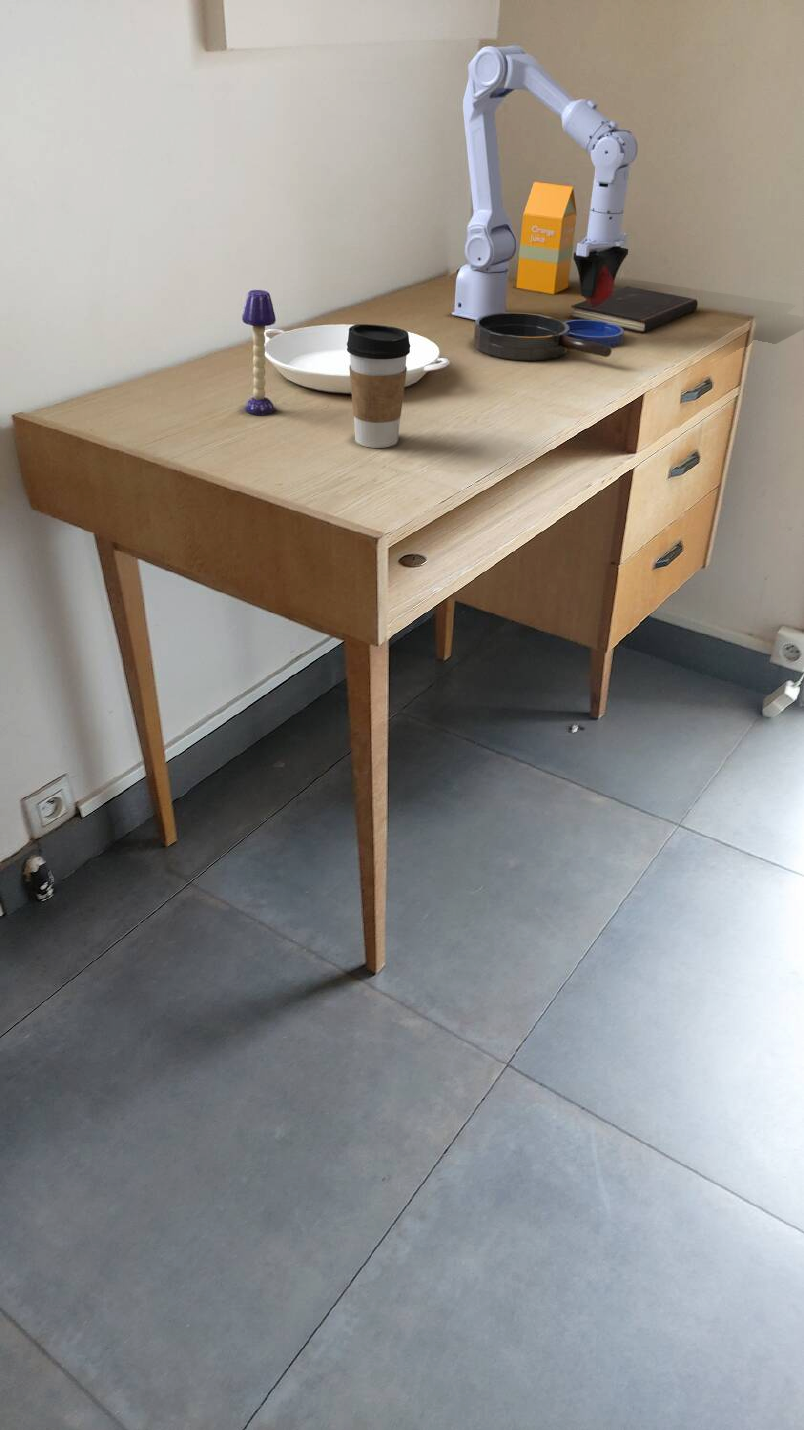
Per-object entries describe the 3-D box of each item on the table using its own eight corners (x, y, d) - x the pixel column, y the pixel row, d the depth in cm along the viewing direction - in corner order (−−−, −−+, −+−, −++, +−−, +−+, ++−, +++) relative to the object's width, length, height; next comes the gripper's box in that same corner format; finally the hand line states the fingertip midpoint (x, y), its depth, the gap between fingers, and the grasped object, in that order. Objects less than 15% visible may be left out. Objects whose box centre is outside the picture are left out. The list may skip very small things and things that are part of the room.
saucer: (545, 338, 191) (546, 328, 190) (578, 326, 199) (579, 316, 198) (602, 351, 185) (603, 341, 184) (633, 338, 193) (635, 328, 192)
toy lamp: (271, 403, 157) (267, 286, 147) (283, 413, 153) (279, 294, 144) (241, 407, 155) (234, 289, 145) (252, 417, 151) (246, 297, 142)
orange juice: (553, 294, 219) (565, 188, 207) (515, 287, 222) (525, 183, 211) (568, 287, 224) (581, 184, 213) (531, 281, 228) (541, 179, 216)
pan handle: (554, 346, 180) (555, 335, 179) (559, 344, 181) (560, 333, 180) (607, 359, 175) (609, 348, 174) (612, 356, 176) (614, 345, 175)
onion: (609, 304, 191) (616, 257, 187) (611, 312, 186) (618, 264, 182) (577, 302, 192) (583, 255, 187) (578, 310, 187) (584, 262, 182)
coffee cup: (344, 429, 149) (345, 320, 140) (404, 430, 149) (408, 321, 141) (347, 451, 142) (348, 338, 133) (409, 451, 143) (414, 339, 134)
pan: (216, 379, 165) (214, 351, 163) (305, 337, 186) (305, 311, 184) (408, 417, 154) (409, 387, 151) (480, 367, 175) (482, 340, 173)
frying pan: (455, 348, 184) (456, 324, 182) (506, 330, 195) (508, 307, 193) (534, 367, 176) (537, 343, 174) (583, 347, 187) (586, 324, 185)
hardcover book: (570, 317, 204) (571, 305, 202) (625, 297, 219) (627, 285, 217) (644, 334, 196) (646, 321, 194) (696, 311, 211) (698, 299, 210)
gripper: (607, 219, 173) (595, 305, 181) (647, 209, 183) (634, 290, 190) (570, 213, 177) (560, 297, 184) (611, 203, 186) (600, 284, 194)
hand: (595, 293), depth 188 cm, fingers closed on onion, 6 cm apart
